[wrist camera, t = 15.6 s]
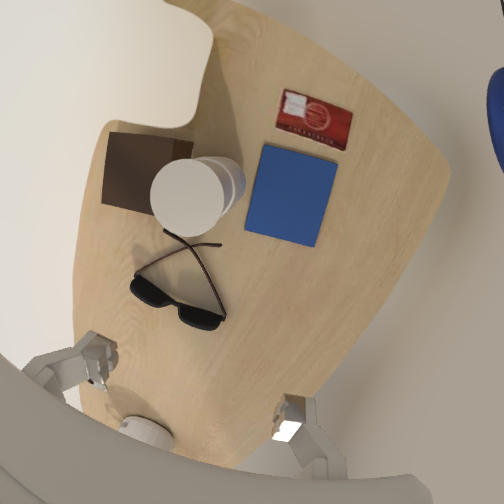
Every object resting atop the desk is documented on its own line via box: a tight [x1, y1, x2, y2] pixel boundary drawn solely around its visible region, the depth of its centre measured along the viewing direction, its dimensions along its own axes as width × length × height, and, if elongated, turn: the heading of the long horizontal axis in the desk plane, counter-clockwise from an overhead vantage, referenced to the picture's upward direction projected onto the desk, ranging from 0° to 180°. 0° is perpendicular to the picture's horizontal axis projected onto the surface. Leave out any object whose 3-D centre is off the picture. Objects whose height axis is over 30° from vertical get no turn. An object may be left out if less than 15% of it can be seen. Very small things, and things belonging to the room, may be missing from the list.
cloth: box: [244, 145, 338, 247], centre depth 36 cm, size 12×10×1 cm
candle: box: [150, 156, 246, 237], centre depth 29 cm, size 7×7×15 cm
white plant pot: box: [117, 416, 174, 452], centre depth 58 cm, size 21×17×10 cm
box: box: [101, 132, 194, 216], centre depth 33 cm, size 9×9×8 cm
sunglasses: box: [130, 228, 227, 331], centre depth 39 cm, size 17×14×5 cm
